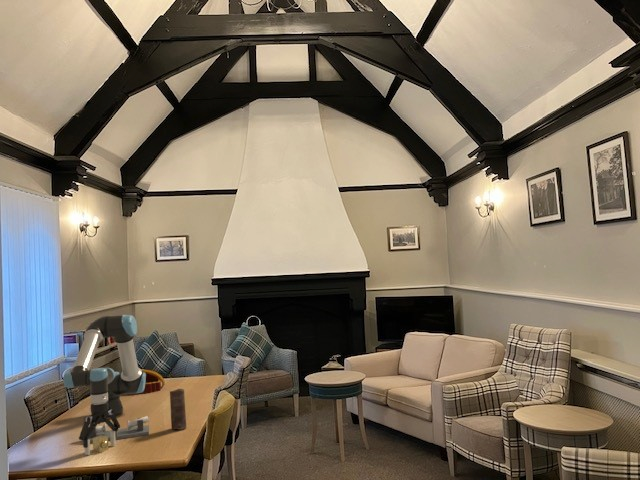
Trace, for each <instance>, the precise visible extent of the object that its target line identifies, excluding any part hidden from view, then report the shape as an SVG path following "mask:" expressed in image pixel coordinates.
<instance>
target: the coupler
mask: <svg viewBox="0 0 640 480" xmlns="http://www.w3.org/2000/svg"><path fill="white" fill-rule="evenodd" d="M108 450H109V441H108V436H103V435H100V436H97V437H95V438H93V443H92V452H94V453H99V454H100V453H103V452H105V451H108Z"/></svg>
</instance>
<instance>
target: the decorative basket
mask: <svg viewBox="0 0 640 480" xmlns="http://www.w3.org/2000/svg"><path fill="white" fill-rule="evenodd" d="M140 369H141V371H142V372H144V373H146V382H145V388H144V391H143V392H142V394H146V393H147V394H148V393H156V392H160V391H161V390H162V388H163V387H164V386H165V384H166V380H165V379H164V377H163V376H162V375H161V374H159V373H158V372H156V371H154V370H150V369H142V368H140Z"/></svg>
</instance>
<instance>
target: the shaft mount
mask: <svg viewBox="0 0 640 480" xmlns="http://www.w3.org/2000/svg"><path fill="white" fill-rule="evenodd" d="M149 422H150V421H149V416H148V415H146V416H143V417H137V418H136V419H134V420H131V421H130V420H127V428H121V429H120V428H118V431H117V437H115V438H116V440H122V439H130V438H137V436H138V437H143V436H149V435H150V425H144V424H146V423H149ZM88 428H89V427H88ZM107 428H108V425H107V424H106V423H103V425H97V426H95V428H94V430H93V431H92V433H91V435H90V437H89V439H88V440H90V444H93V438H95V437H97V436H100V435H103V436H108V442H111V439H110V431H112V429H111V430H108V429H107Z"/></svg>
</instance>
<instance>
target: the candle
mask: <svg viewBox="0 0 640 480" xmlns="http://www.w3.org/2000/svg"><path fill="white" fill-rule="evenodd" d="M185 399H186V398H185V389H184V388H177V389H174V390H169V400H170V401H169V402H170V423H171V424H170V425H171V429H173V430H174V429H175V430H186V429H187V416H186V415H187V414H186V400H185Z"/></svg>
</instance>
